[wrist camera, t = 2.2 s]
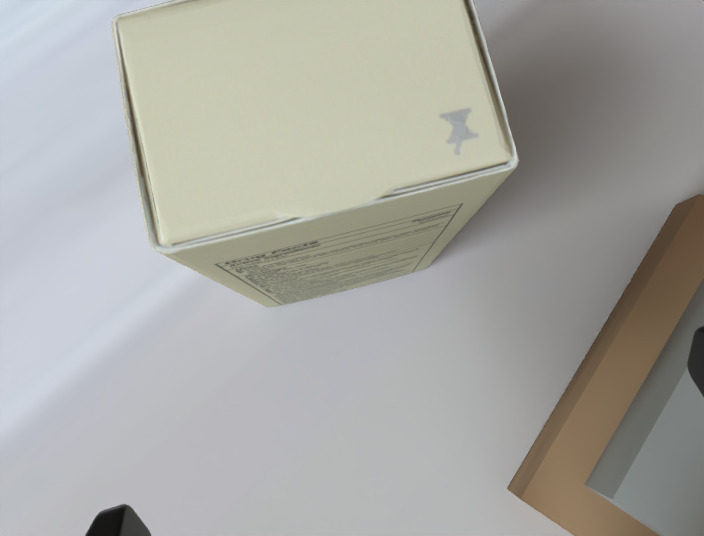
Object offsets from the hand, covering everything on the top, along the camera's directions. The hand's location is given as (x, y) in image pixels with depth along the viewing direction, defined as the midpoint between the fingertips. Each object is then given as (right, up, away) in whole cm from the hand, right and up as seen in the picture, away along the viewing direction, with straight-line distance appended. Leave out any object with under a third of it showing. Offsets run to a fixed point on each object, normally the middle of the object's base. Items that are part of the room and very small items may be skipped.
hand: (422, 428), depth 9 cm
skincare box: (-2, +4, +13) cm, 13 cm away
